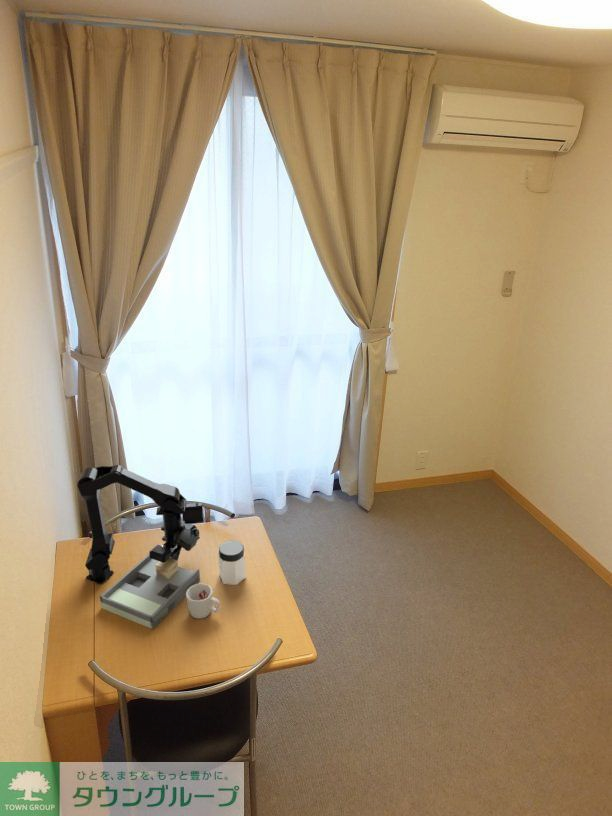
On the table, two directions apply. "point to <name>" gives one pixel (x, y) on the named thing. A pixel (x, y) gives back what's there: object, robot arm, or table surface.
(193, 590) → the cup
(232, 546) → the jar
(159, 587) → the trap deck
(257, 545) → the table surface
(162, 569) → the maple block
